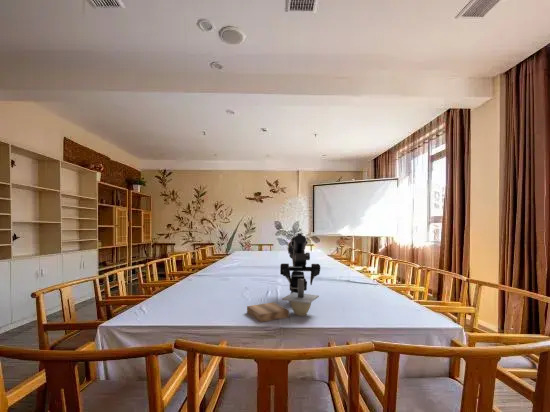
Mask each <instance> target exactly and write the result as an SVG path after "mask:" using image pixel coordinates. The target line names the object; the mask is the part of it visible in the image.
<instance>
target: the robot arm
mask: <svg viewBox="0 0 550 412" xmlns="http://www.w3.org/2000/svg"><path fill="white" fill-rule="evenodd" d="M307 245H308V240H307V238H306V236H304V235H303V234H302V233H297V235H296V236H292V237H291V238H290V242H288V245H287V246H288V247H287V252H288V254H289V258H290V259H291V261H292V262H291V263H292V265H291V266H290V264H289V263H281V264H280V269H279V271H280V272H279V273H280V275H282V276H283V277H285V279H286V280H287V281H288V283H289V291H290V293H289V294H291V293H293V292H295V293H298V279H304V292H306V291H307V290H308V289H307V288H308V281H307V279H306V278H305V273H304V272H310V283H309V284H310V286H312V285H313V281H314V279H315V277H317V276H319V275H320V272H321V264H319V263H311V265H310V266H307V261H310V259H311V255H310V254H311V253H310V252H305V251H306V246H307Z"/></svg>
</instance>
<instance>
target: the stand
mask: <svg viewBox="0 0 550 412" xmlns="http://www.w3.org/2000/svg"><path fill="white" fill-rule="evenodd" d="M246 309H247V310H246V314H248V315H249V316H251V318H252V317H253V319H255V320H257V321H260V323H263V322H264V323H265V322H269V321H274V320H275V321H276V320H281V319H286V318H290V310H289V309H288V308H286V307H285V306H284V307H283V306H282V305H279V304H278V303H276V302H267V303H266V302H265V303H260V304H253V305H247V306H246Z"/></svg>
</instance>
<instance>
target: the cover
mask: <svg viewBox="0 0 550 412" xmlns="http://www.w3.org/2000/svg"><path fill="white" fill-rule="evenodd" d="M290 293H291V292H290ZM290 293H289V294H288V295H287V294H286V296H284V297H281V300H282V301H286V302H287V301H289V302H290V301H294V302H301V303H308V304H310V303H311V304H312V302H314V301H315V300H316V299H318V298H320V296H319V295H316V294H311V293H305V291H304V279H298V293H295V292H293V293H291V294H290Z"/></svg>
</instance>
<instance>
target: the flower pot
mask: <svg viewBox="0 0 550 412" xmlns="http://www.w3.org/2000/svg"><path fill="white" fill-rule="evenodd" d="M289 302H290V306H291V309H292V311H293V313H294V315H296V316H299V317H303V316H307V314H308V312H309V311H310V309H311V306H312V302H311V303H310V304H308V303H301V302H294V301H289Z"/></svg>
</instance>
